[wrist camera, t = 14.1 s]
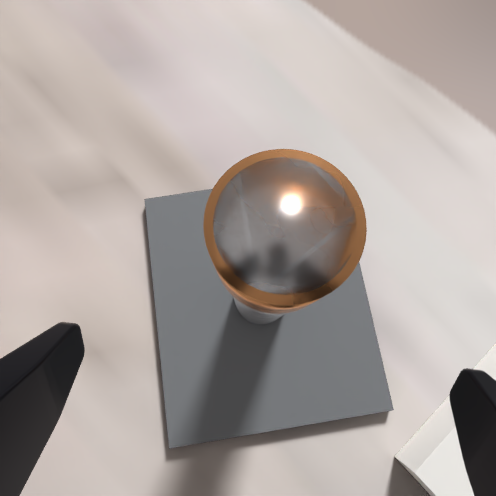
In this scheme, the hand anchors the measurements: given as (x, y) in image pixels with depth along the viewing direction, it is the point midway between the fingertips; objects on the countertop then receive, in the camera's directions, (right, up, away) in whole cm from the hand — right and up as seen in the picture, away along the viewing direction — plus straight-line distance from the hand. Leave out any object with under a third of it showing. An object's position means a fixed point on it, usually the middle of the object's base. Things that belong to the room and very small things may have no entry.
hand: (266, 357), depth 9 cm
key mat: (0, 0, +13) cm, 13 cm away
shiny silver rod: (0, 0, +13) cm, 13 cm away
